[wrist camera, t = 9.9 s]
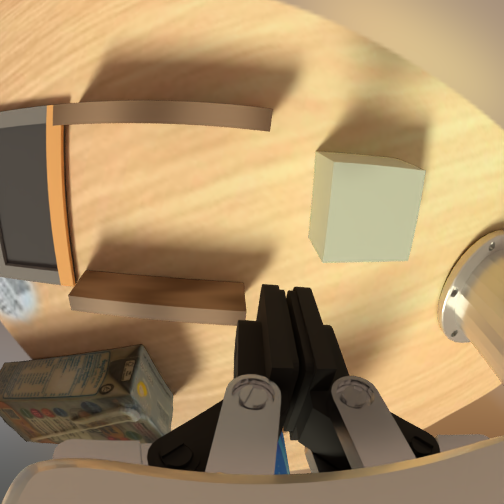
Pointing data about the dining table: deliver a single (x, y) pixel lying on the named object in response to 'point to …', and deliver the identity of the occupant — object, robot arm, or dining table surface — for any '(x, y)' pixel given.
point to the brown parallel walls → (151, 287)
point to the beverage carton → (87, 397)
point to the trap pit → (34, 198)
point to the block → (364, 207)
